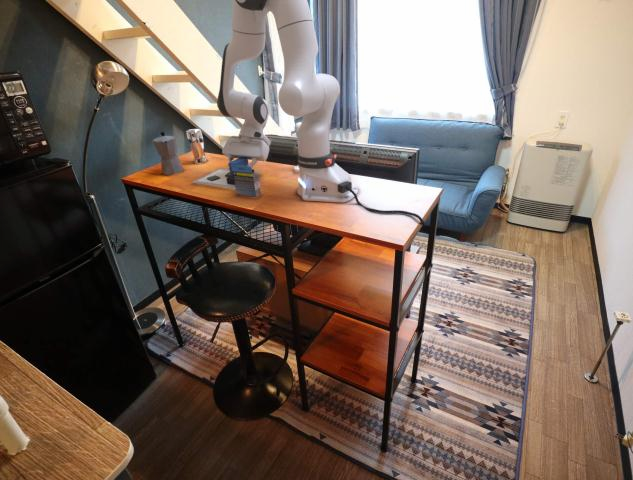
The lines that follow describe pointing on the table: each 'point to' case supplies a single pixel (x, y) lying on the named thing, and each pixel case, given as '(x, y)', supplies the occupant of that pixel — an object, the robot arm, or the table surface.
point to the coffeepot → (168, 154)
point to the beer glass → (196, 145)
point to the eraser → (238, 162)
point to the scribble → (213, 178)
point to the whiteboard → (219, 182)
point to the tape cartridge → (246, 181)
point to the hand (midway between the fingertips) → (239, 167)
